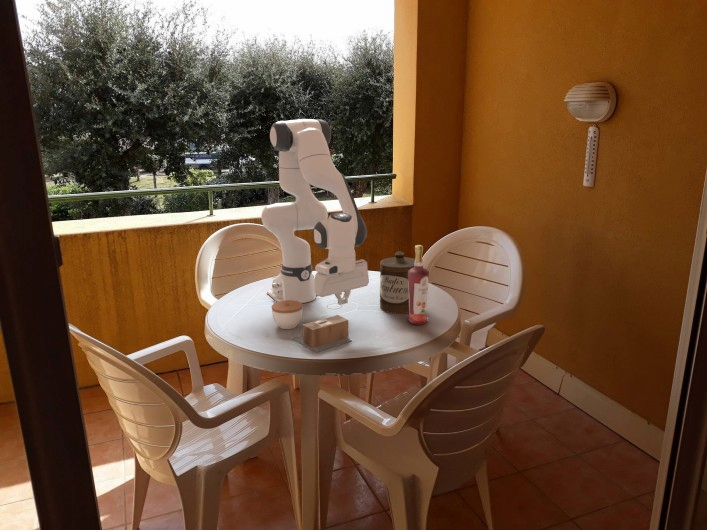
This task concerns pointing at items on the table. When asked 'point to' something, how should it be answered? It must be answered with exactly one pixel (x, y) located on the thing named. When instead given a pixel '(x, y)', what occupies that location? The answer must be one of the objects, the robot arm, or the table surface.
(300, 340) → the slate mat
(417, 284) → the liquor
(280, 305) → the lidded jar
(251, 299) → the table surface
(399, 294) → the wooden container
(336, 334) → the walnut block
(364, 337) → the table surface
